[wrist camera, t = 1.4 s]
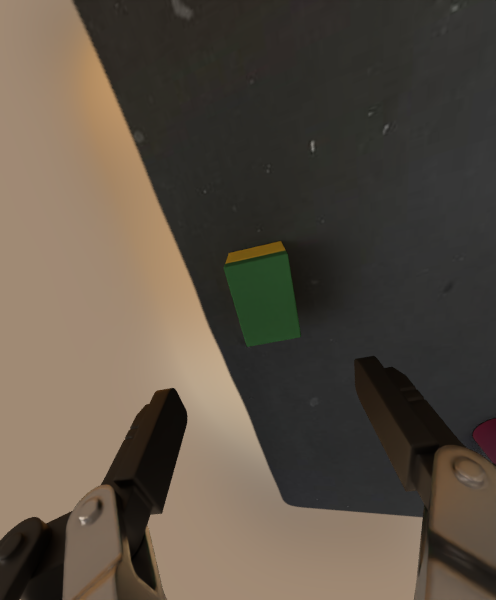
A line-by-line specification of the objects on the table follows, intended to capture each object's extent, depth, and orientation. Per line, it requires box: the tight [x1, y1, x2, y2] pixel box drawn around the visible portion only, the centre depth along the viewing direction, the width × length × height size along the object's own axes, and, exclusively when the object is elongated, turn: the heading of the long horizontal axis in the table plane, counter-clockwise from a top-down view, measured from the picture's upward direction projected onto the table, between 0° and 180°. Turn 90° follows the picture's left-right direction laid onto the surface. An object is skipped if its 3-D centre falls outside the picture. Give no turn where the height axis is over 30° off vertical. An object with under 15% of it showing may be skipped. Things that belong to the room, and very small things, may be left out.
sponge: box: [224, 241, 301, 347], centre depth 19 cm, size 7×4×4 cm, turn 13°
